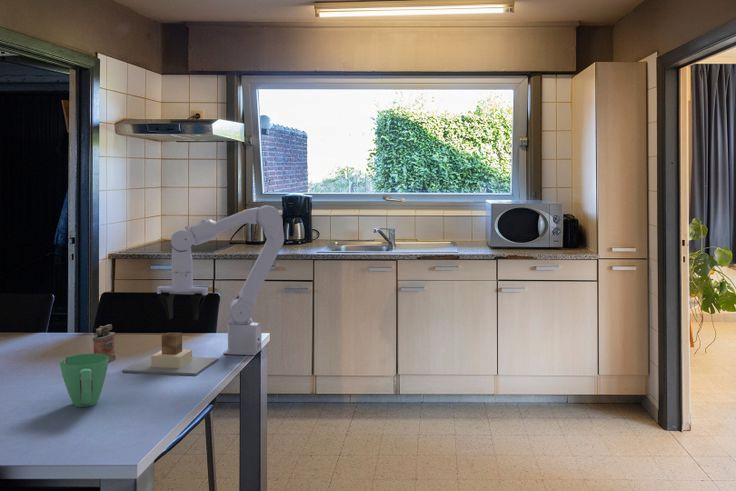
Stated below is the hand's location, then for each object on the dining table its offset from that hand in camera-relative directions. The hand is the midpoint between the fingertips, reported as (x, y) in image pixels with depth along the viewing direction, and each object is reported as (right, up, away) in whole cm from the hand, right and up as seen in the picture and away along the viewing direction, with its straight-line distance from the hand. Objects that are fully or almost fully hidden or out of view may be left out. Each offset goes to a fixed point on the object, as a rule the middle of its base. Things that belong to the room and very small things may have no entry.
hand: (182, 319), depth 190 cm
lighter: (-19, -11, -8) cm, 24 cm away
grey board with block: (0, -11, -11) cm, 16 cm away
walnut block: (0, -8, -11) cm, 14 cm away
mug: (-8, -14, -45) cm, 48 cm away
